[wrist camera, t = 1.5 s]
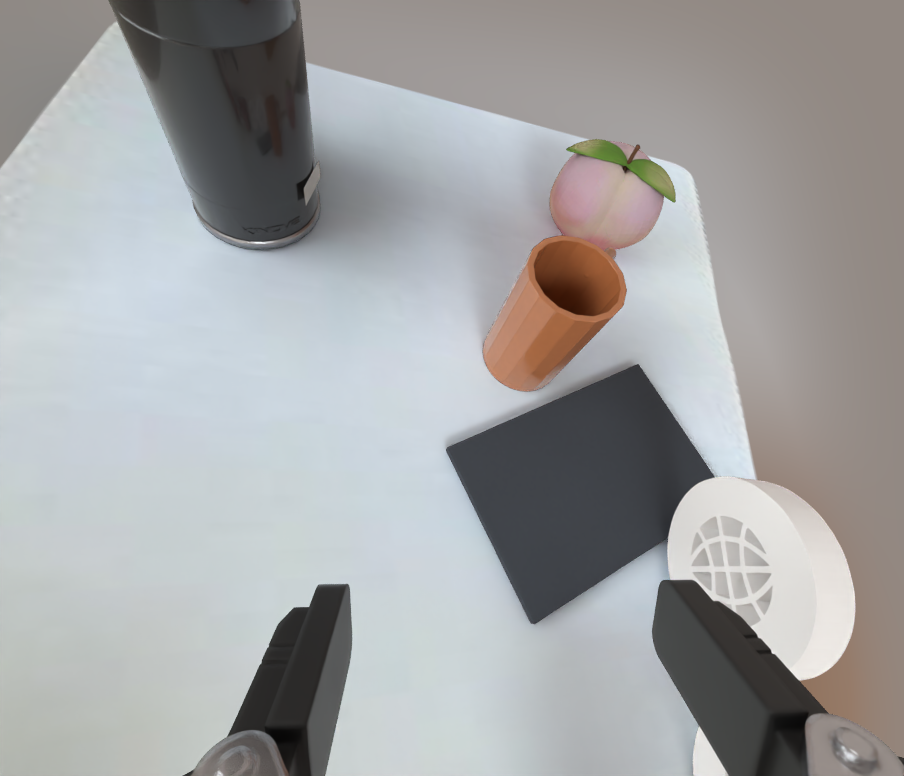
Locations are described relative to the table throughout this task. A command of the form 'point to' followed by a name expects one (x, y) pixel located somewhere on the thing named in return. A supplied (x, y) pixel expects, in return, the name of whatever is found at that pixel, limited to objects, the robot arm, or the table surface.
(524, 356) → the brown mug
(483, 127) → the table surface
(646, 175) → the decorative fruit
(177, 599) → the table surface
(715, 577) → the white twin disc part
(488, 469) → the mat
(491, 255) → the table surface
